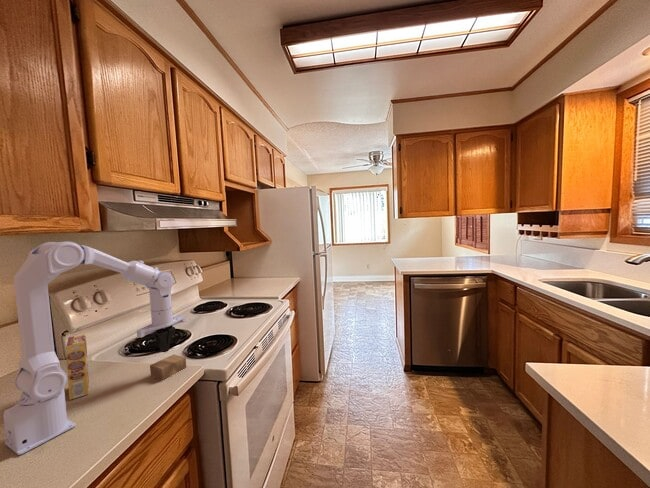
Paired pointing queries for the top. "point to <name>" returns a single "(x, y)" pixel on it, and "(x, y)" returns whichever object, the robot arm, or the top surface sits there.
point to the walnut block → (167, 367)
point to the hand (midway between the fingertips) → (164, 351)
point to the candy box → (77, 366)
